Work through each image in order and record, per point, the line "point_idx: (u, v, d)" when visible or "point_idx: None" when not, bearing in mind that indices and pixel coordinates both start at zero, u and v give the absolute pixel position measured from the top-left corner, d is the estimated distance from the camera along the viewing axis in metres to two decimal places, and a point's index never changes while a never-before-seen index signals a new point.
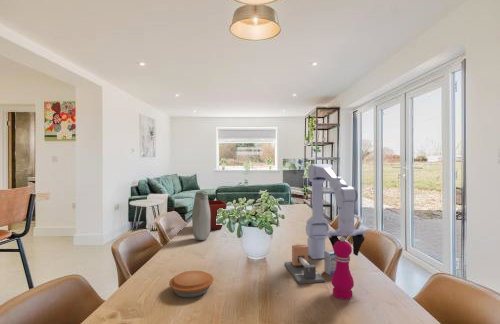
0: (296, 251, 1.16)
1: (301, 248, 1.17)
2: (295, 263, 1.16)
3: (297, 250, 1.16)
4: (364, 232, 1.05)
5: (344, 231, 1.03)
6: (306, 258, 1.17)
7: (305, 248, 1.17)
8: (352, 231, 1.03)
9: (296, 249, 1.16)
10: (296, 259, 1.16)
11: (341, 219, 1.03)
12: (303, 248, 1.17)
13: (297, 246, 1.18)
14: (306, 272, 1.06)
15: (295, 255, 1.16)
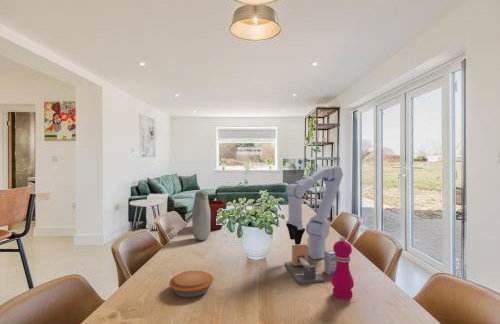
0: (296, 251, 1.16)
1: (301, 248, 1.17)
2: (295, 263, 1.16)
3: (297, 250, 1.16)
4: (297, 226, 1.17)
5: None
6: (306, 258, 1.17)
7: (304, 248, 1.17)
8: (290, 220, 1.23)
9: (296, 249, 1.16)
10: (296, 259, 1.17)
11: None
12: (303, 248, 1.17)
13: (297, 246, 1.18)
14: (306, 272, 1.06)
15: (295, 255, 1.16)
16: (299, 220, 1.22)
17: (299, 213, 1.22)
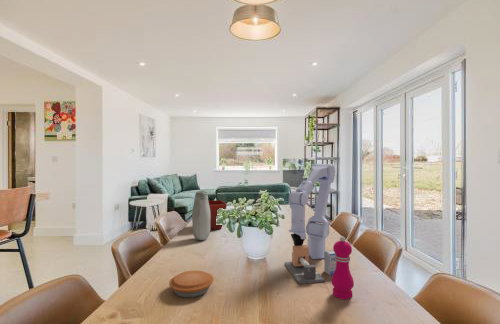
0: (297, 252, 1.16)
1: (302, 249, 1.16)
2: (296, 264, 1.16)
3: (298, 251, 1.16)
4: (301, 235, 1.13)
5: None
6: (307, 259, 1.16)
7: (305, 249, 1.16)
8: (293, 229, 1.19)
9: (297, 250, 1.16)
10: (297, 260, 1.16)
11: (291, 218, 1.21)
12: (304, 249, 1.16)
13: (298, 247, 1.17)
14: (306, 272, 1.06)
15: (296, 256, 1.16)
16: (302, 229, 1.18)
17: (302, 222, 1.18)
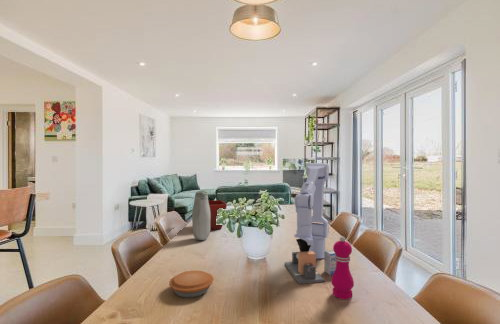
0: (303, 258, 1.08)
1: (308, 255, 1.08)
2: (302, 271, 1.08)
3: (304, 257, 1.08)
4: (307, 241, 1.06)
5: None
6: None
7: (312, 255, 1.09)
8: (298, 234, 1.11)
9: (303, 256, 1.08)
10: (303, 267, 1.08)
11: (297, 223, 1.12)
12: (310, 255, 1.08)
13: (304, 253, 1.09)
14: (306, 272, 1.06)
15: (302, 263, 1.08)
16: (309, 234, 1.10)
17: (309, 226, 1.10)
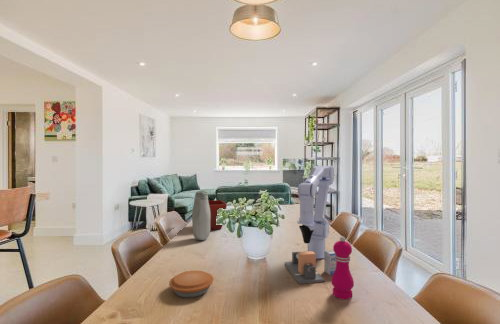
0: (303, 258, 1.08)
1: (308, 255, 1.08)
2: (302, 271, 1.08)
3: (304, 257, 1.08)
4: (310, 226, 1.13)
5: None
6: None
7: (312, 255, 1.09)
8: (301, 221, 1.18)
9: (303, 256, 1.08)
10: (303, 267, 1.08)
11: (300, 210, 1.20)
12: (310, 255, 1.08)
13: (304, 253, 1.09)
14: (306, 272, 1.06)
15: (302, 263, 1.08)
16: (311, 220, 1.17)
17: (311, 213, 1.17)
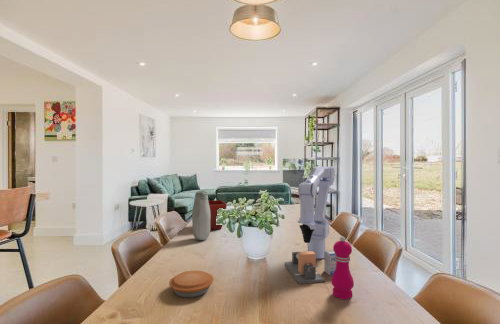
0: (303, 258, 1.08)
1: (308, 255, 1.08)
2: (302, 271, 1.08)
3: (304, 257, 1.08)
4: (310, 226, 1.13)
5: None
6: None
7: (312, 255, 1.09)
8: (302, 220, 1.19)
9: (303, 256, 1.08)
10: (303, 267, 1.08)
11: (300, 209, 1.20)
12: (310, 255, 1.08)
13: (304, 253, 1.09)
14: (306, 272, 1.06)
15: (302, 263, 1.08)
16: (311, 220, 1.18)
17: (311, 212, 1.18)
